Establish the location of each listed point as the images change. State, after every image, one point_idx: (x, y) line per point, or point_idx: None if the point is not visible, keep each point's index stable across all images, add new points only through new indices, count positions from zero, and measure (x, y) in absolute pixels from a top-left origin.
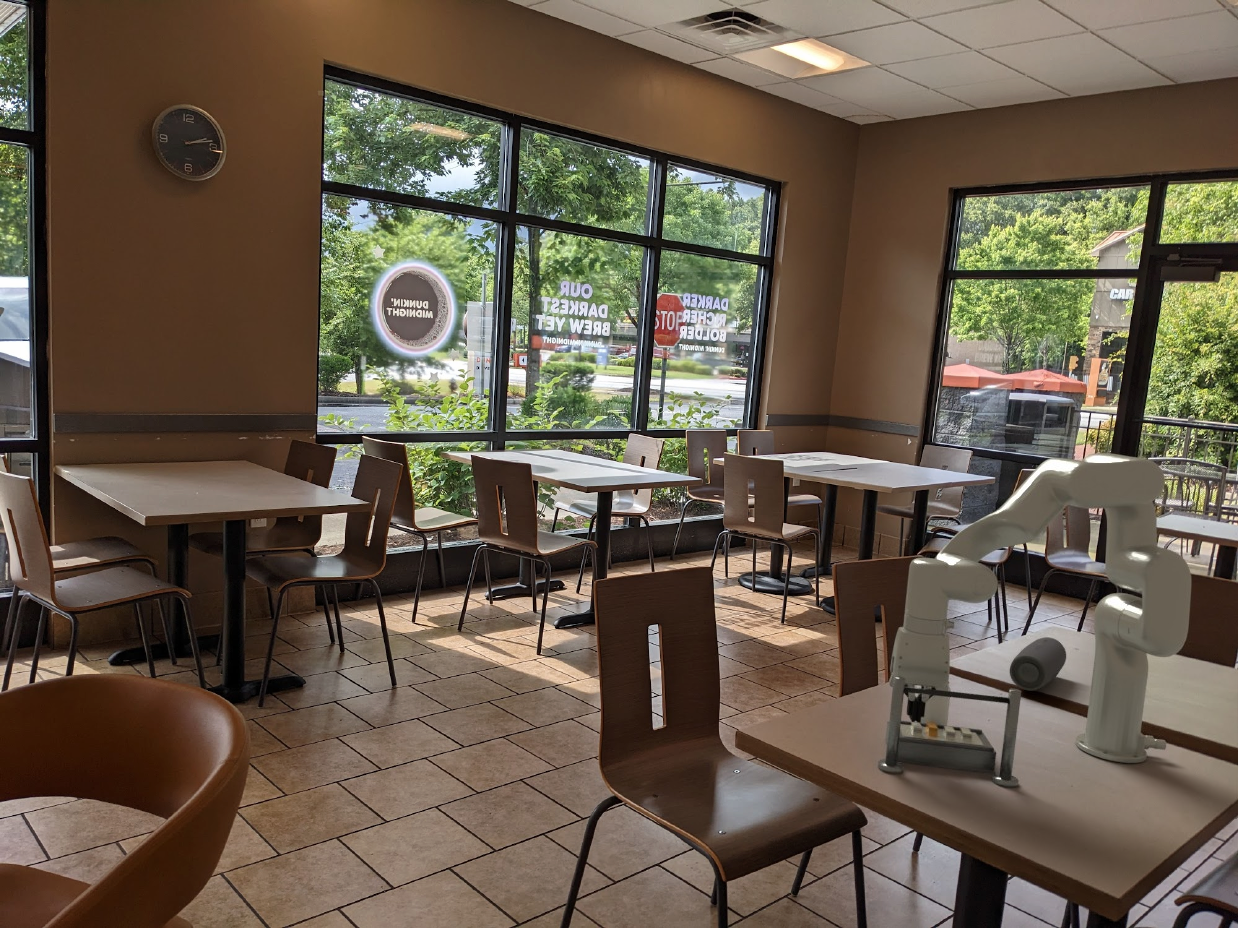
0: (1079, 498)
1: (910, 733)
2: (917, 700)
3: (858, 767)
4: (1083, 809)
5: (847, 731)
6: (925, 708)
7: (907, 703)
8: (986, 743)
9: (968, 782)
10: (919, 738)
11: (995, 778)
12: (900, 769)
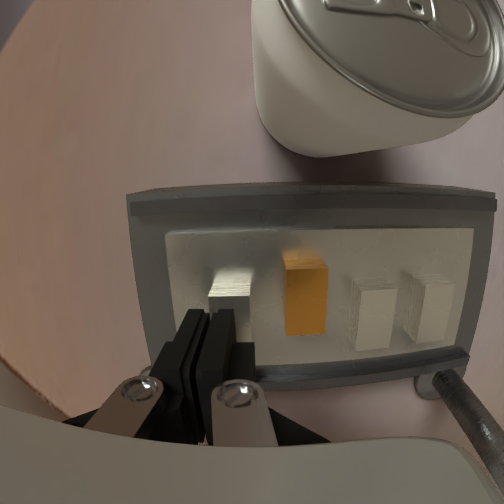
0: None
1: None
2: (203, 419)
3: (101, 393)
4: (500, 411)
5: (53, 152)
6: (303, 136)
7: (153, 367)
8: (472, 301)
9: (353, 405)
10: None
11: (420, 389)
12: None
